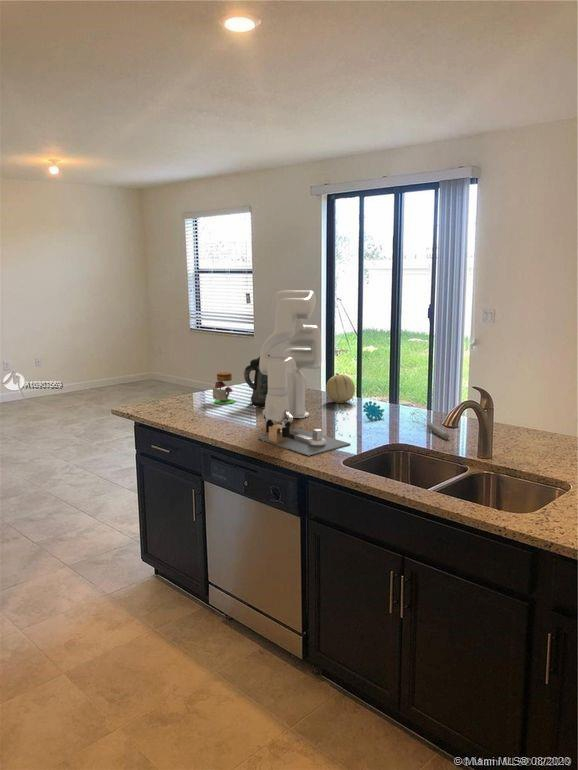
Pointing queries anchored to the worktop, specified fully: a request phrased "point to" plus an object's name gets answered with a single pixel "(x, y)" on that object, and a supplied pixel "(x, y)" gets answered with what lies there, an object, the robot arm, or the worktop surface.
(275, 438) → the wooden block
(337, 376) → the cantaloupe
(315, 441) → the ratchet
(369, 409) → the teal virus model
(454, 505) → the worktop surface
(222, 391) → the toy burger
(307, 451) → the mat
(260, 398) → the beer stein
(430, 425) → the kitchen whisk
